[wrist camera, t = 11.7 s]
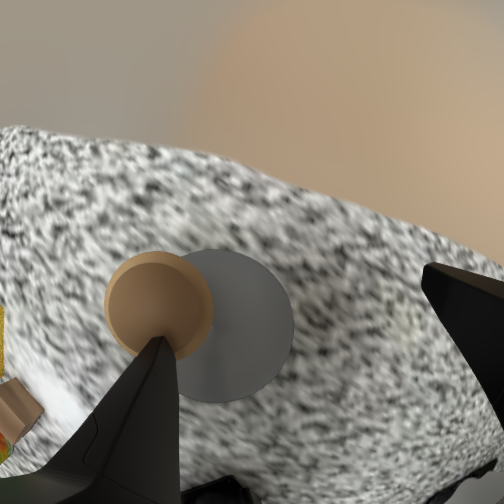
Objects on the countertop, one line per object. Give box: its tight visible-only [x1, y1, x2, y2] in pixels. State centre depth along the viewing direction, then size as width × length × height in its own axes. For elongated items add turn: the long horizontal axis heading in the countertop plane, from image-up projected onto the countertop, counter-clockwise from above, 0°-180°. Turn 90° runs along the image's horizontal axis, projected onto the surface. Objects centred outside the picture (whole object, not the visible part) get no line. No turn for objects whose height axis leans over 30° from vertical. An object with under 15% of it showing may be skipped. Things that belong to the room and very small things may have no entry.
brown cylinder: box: [104, 251, 214, 361], centre depth 14 cm, size 4×4×12 cm
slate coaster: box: [176, 250, 294, 403], centre depth 20 cm, size 12×12×1 cm
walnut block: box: [0, 377, 44, 445], centre depth 14 cm, size 4×4×4 cm
